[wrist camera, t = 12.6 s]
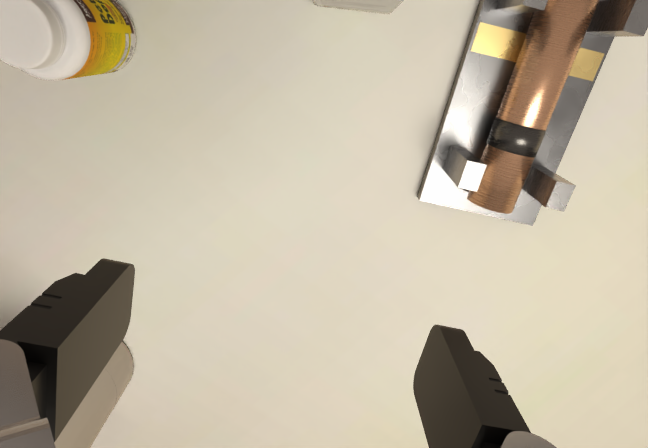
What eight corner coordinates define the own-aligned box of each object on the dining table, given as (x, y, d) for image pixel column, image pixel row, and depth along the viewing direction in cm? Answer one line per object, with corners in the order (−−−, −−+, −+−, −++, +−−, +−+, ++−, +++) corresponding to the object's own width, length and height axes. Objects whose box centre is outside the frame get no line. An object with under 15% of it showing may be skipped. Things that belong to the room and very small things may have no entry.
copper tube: (543, -37, 32) (567, -47, 28) (594, -24, 32) (624, -32, 28) (461, 191, 38) (472, 206, 34) (504, 201, 38) (520, 217, 35)
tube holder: (528, 221, 40) (559, 251, 34) (417, 196, 39) (431, 222, 33) (636, -35, 32) (700, -50, 27) (503, -71, 32) (539, -94, 26)
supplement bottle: (151, 22, 34) (82, 16, 25) (120, 87, 36) (45, 104, 27) (81, -24, 33) (-19, -49, 24) (53, 45, 35) (-50, 47, 26)
